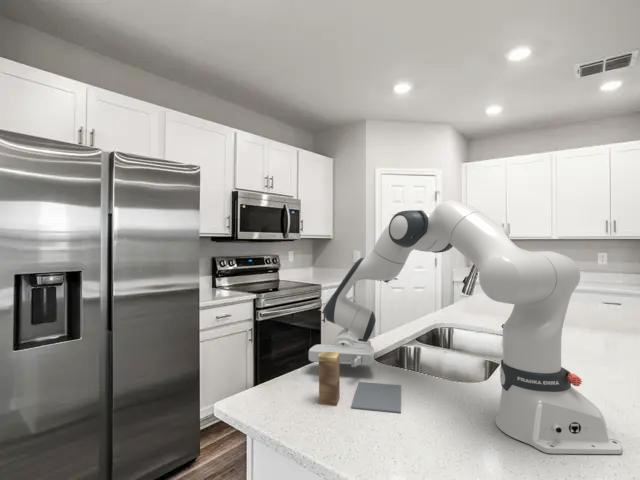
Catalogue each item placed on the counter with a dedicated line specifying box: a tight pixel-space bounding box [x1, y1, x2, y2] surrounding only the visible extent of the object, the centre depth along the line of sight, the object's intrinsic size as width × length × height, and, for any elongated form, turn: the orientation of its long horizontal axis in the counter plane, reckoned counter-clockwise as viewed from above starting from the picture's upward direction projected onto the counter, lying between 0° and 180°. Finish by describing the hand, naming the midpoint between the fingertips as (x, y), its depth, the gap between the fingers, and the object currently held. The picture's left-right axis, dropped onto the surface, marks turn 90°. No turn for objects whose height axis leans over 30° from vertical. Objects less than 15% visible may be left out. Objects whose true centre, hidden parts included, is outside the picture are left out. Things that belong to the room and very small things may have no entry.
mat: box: [350, 381, 402, 414], centre depth 95 cm, size 12×16×1 cm
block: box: [318, 352, 341, 407], centre depth 93 cm, size 4×4×12 cm
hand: (337, 363), depth 104 cm, fingers open, 8 cm apart
